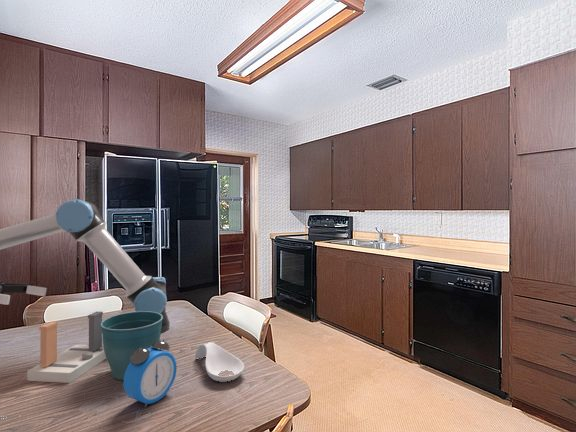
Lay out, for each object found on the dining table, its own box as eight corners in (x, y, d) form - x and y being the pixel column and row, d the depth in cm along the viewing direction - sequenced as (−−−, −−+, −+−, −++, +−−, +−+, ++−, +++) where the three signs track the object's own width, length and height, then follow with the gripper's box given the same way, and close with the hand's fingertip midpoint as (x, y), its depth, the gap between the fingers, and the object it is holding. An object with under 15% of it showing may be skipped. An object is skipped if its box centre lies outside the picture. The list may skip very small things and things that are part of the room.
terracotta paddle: (57, 360, 104) (57, 322, 104) (46, 367, 100) (46, 326, 100) (50, 360, 104) (51, 321, 104) (39, 366, 100) (39, 326, 100)
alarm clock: (137, 415, 82) (137, 356, 82) (121, 408, 85) (122, 351, 85) (177, 390, 93) (177, 338, 93) (162, 385, 96) (162, 334, 96)
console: (111, 354, 117) (112, 342, 117) (70, 382, 97) (70, 367, 97) (75, 352, 118) (75, 340, 118) (27, 380, 98) (27, 365, 98)
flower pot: (172, 371, 104) (172, 319, 104) (111, 393, 91) (111, 333, 91) (149, 354, 117) (149, 308, 117) (93, 371, 104) (93, 319, 104)
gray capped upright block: (102, 346, 115) (102, 311, 115) (94, 351, 111) (94, 315, 111) (96, 346, 116) (96, 311, 116) (87, 351, 111) (87, 315, 111)
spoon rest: (251, 379, 100) (251, 356, 100) (217, 392, 93) (217, 367, 93) (215, 354, 118) (215, 334, 118) (184, 363, 111) (184, 342, 111)
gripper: (2, 291, 118) (56, 299, 117) (-80, 306, 93) (-13, 317, 92) (5, 270, 118) (59, 278, 117) (-75, 280, 94) (-8, 290, 92)
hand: (28, 295), depth 104 cm, fingers open, 13 cm apart
